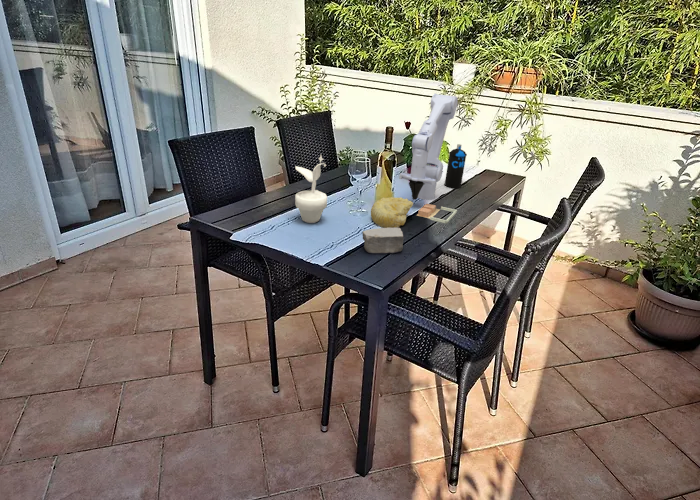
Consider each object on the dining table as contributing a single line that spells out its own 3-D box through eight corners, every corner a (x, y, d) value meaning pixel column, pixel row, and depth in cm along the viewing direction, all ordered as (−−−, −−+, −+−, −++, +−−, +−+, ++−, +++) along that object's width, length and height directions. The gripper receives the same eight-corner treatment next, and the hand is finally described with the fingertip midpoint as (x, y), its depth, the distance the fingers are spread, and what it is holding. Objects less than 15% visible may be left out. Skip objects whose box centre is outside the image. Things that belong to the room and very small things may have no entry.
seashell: (363, 226, 174) (383, 233, 160) (362, 198, 171) (382, 202, 158) (401, 221, 180) (422, 227, 167) (400, 193, 178) (422, 198, 165)
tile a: (422, 211, 181) (423, 206, 180) (425, 208, 184) (426, 203, 183) (432, 213, 179) (432, 208, 178) (435, 210, 182) (436, 205, 181)
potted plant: (332, 219, 171) (335, 153, 160) (314, 228, 162) (316, 160, 151) (305, 211, 177) (305, 147, 166) (286, 220, 168) (286, 153, 157)
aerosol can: (440, 183, 220) (447, 142, 211) (455, 183, 222) (462, 142, 214) (449, 189, 213) (455, 146, 204) (464, 188, 215) (471, 146, 207)
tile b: (417, 215, 176) (418, 210, 175) (421, 212, 179) (421, 207, 178) (427, 217, 175) (428, 212, 174) (430, 214, 178) (431, 209, 177)
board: (415, 218, 177) (416, 215, 176) (425, 209, 186) (426, 206, 186) (430, 222, 174) (430, 218, 174) (439, 213, 184) (440, 209, 183)
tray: (429, 223, 173) (430, 217, 172) (440, 212, 185) (441, 206, 184) (445, 227, 171) (446, 220, 170) (456, 215, 182) (457, 210, 181)
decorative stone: (410, 251, 151) (391, 239, 158) (413, 233, 147) (394, 221, 155) (374, 261, 143) (357, 248, 150) (376, 242, 140) (358, 229, 147)
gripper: (397, 164, 176) (394, 197, 182) (433, 171, 170) (428, 205, 176) (404, 161, 182) (400, 193, 188) (439, 167, 176) (434, 200, 182)
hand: (414, 198), depth 182 cm, fingers closed
